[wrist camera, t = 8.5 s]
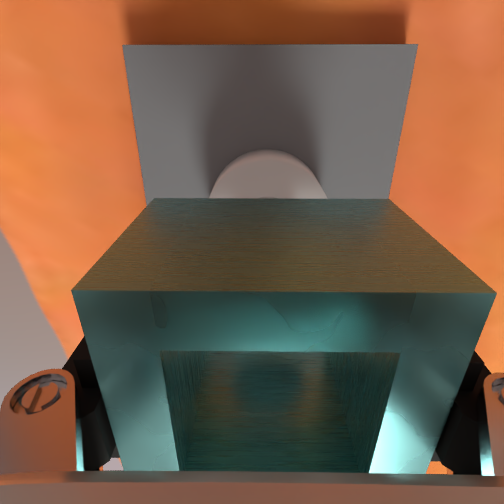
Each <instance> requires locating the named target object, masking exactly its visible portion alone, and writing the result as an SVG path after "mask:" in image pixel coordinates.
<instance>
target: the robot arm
mask: <svg viewBox="0 0 504 504" xmlns="http://www.w3.org/2000/svg"><path fill="white" fill-rule="evenodd" d="M111 458H120V455H119V452H118V449H117V445H116V442H115V438H114V435H113V431H112V428H111V425H110V421H109V418H108V414H107V411H106V408H105V404H104V401H103V397H102V394H101V390H100V387H99V384H98V380H97V377H96V373H95V370H94V366H93V363H92V360H91V356H90V353H89V349H88V346H87V343H86V339H85V336H84V337H83V339H82V340H81V342H80V343H79V345H78V346H77V348H76V349H75V351H74V352H73V353H72V355H71V356H70V358H69V359H68V361H67V362H66V364H65V365H64V367H63V368H62V369H48V370H44V371H40V372H37V373H35V374H33V375H30V376H28V377H27V378H25V379H23V380H22V381H20V382H19V383H17V384H16V385H15V386H14V387H13V388H11V390H10V391H9V392H8V393H7V395H6V396H5V397H4V400H3V402H2V405H1V409H0V504H504V373H493V374H491V372H490V371H489V370H488V369H487V367H486V366H485V365H484V362H483V361H482V359H481V358H480V357H479V356H478V354H477V353H476V352H475V351H474V352H473V355H472V357H471V360H470V362H469V365H468V367H467V370H466V372H465V375H464V378H463V380H462V383H461V385H460V388H459V390H458V393H457V395H456V398H455V400H454V403H453V405H452V408H451V410H450V413H449V415H448V418H447V420H446V423H445V426H444V428H443V431H442V433H441V436H440V438H439V441H438V443H437V446H436V448H435V451H434V453H433V456H432V458H431V461H441V463H442V465H444V466H445V467H447V474H396V473H332V472H248V471H103V465H104V464H106V463H107V462H108V461H110V459H111Z"/></svg>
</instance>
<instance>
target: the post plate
mask: <svg viewBox="0 0 504 504" xmlns="http://www.w3.org/2000/svg"><path fill="white" fill-rule="evenodd" d="M122 46H123V53H124V59H125V66H126V72H127V79H128V85H129V92H130V99H131V105H132V112H133V118H134V125H135V131H136V138H137V145H138V151H139V158H140V164H141V171H142V177H143V184H144V191H145V197H146V204H147V206H148V204H149V203H150V202H151V201H152V200H153V199H154V198H295V199H388V198H389V192H390V187H391V182H392V177H393V172H394V167H395V161H396V156H397V151H398V146H399V141H400V136H401V130H402V125H403V120H404V115H405V110H406V104H407V99H408V94H409V89H410V84H411V79H412V73H413V68H414V63H415V58H416V53H417V48H418V44H287V45H122Z"/></svg>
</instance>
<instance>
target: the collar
mask: <svg viewBox="0 0 504 504" xmlns="http://www.w3.org/2000/svg"><path fill="white" fill-rule="evenodd" d="M71 291H72V295H73V298H74V301H75V305H76V308H77V312H78V315H79V319H80V322H81V325H82V329H83V332H84V336H85V339H86V343H87V346H88V349H89V353H90V356H91V360H92V363H93V366H94V370H95V373H96V377H97V380H98V384H99V387H100V390H101V394H102V397H103V401H104V404H105V408H106V411H107V414H108V418H109V421H110V425H111V428H112V431H113V435H114V438H115V442H116V445H117V449H118V452H119V455H120V459H121V462H122V466H123V469H124V471H248V472H332V473H396V474H425V473H426V471H427V468H428V466H429V463H430V461H431V458H432V456H433V453H434V451H435V448H436V446H437V443H438V441H439V438H440V436H441V433H442V431H443V428H444V426H445V423H446V420H447V418H448V415H449V413H450V410H451V408H452V405H453V403H454V400H455V398H456V395H457V393H458V390H459V388H460V385H461V383H462V380H463V378H464V375H465V372H466V370H467V367H468V365H469V362H470V360H471V357H472V355H473V352H474V350H475V347H476V345H477V342H478V340H479V337H480V335H481V332H482V330H483V327H484V325H485V322H486V319H487V317H488V314H489V312H490V309H491V307H492V304H493V302H494V299H495V297H496V294H497V293H496V292H495V291H494V290H493V289H492V288H490V287H489V286H488V285H487V284H486V283H485V282H484V281H482V280H481V279H480V278H479V277H478V276H477V275H476V274H474V273H473V272H472V271H471V270H470V269H469V268H468V267H466V266H465V265H464V264H463V263H462V262H461V261H459V260H458V259H457V258H456V257H455V256H454V255H453V254H451V253H450V252H449V251H448V250H447V249H446V248H445V247H443V246H442V245H441V244H440V243H439V242H438V241H437V240H435V239H434V238H433V237H432V236H431V235H430V234H428V233H427V232H426V231H425V230H424V229H423V228H422V227H420V226H419V225H418V224H417V223H416V222H415V221H414V220H412V219H411V218H410V217H409V216H408V215H407V214H406V213H404V212H403V211H402V210H401V209H400V208H399V207H397V206H396V205H395V204H394V203H393V202H392V201H391V200H389V199H295V198H154V199H153V200H152V201H151V202H150V203H149V204H148V206H147V207H146V208H145V209H144V210H143V211H142V212H141V213H140V214H139V216H138V217H137V218H136V219H135V220H134V221H133V222H132V223H131V224H130V226H129V227H128V228H127V229H126V230H125V231H124V232H123V233H122V234H121V236H120V237H119V238H118V239H117V240H116V241H115V242H114V243H113V244H112V246H111V247H110V248H109V249H108V250H107V251H106V252H105V253H104V254H103V256H102V257H101V258H100V259H99V260H98V261H97V262H96V263H95V264H94V266H93V267H92V268H91V269H90V270H89V271H88V272H87V273H86V274H85V276H84V277H83V278H82V279H81V280H80V281H79V282H78V283H77V284H76V286H75V287H74V288H73V289H72V290H71Z"/></svg>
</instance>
